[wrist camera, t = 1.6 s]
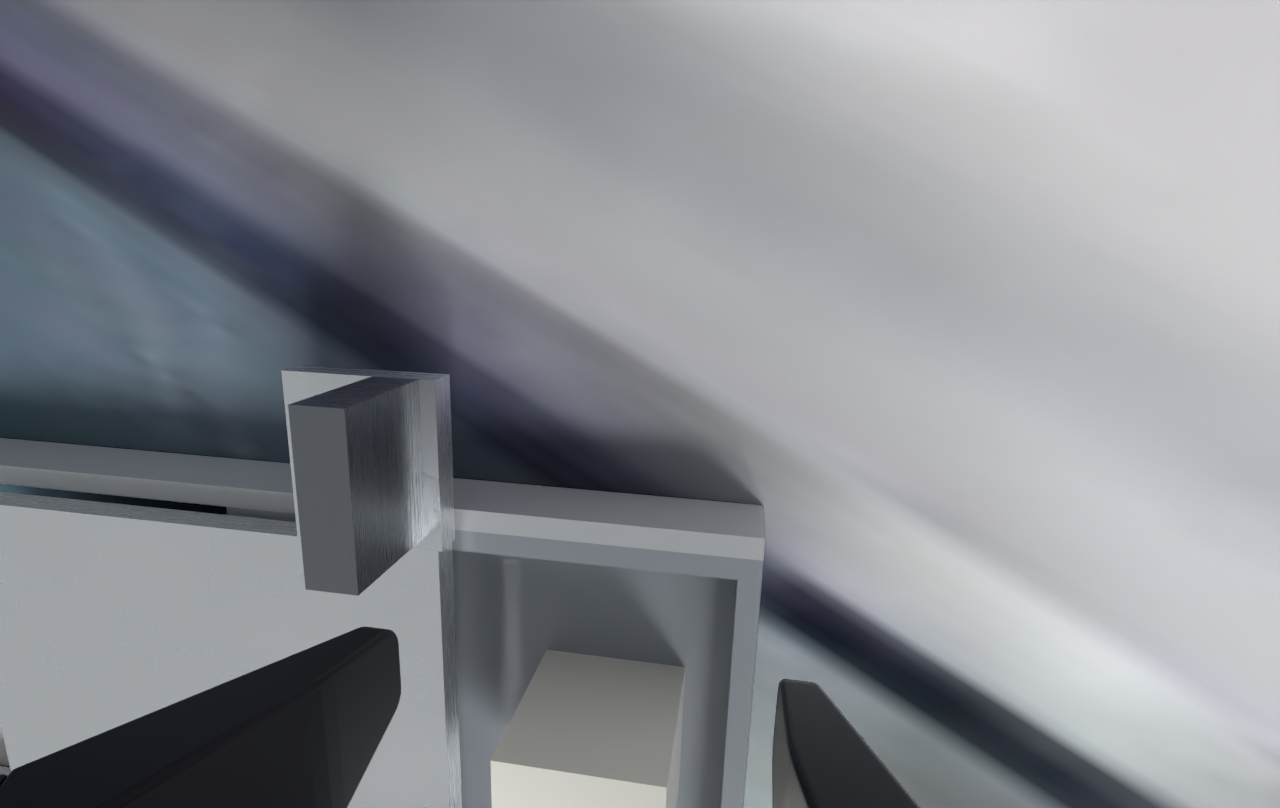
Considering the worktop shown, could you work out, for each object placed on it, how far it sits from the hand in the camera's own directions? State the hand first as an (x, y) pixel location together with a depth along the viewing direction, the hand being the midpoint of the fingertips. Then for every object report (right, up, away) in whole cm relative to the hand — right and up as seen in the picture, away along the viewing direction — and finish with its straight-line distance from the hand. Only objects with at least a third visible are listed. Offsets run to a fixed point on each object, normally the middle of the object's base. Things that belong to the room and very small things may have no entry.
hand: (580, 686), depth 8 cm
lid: (-12, -4, +12) cm, 17 cm away
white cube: (0, -6, +12) cm, 14 cm away
